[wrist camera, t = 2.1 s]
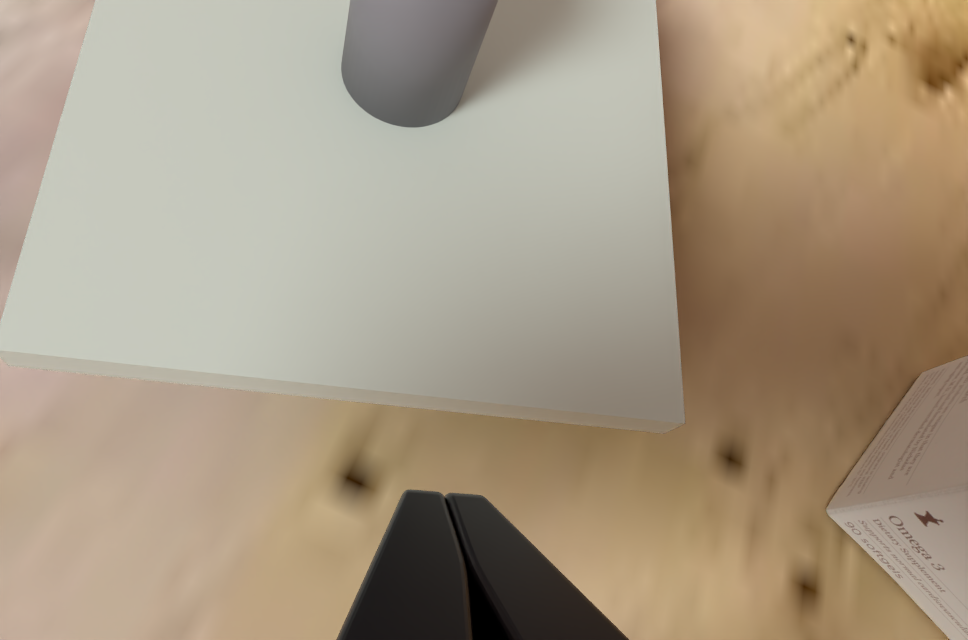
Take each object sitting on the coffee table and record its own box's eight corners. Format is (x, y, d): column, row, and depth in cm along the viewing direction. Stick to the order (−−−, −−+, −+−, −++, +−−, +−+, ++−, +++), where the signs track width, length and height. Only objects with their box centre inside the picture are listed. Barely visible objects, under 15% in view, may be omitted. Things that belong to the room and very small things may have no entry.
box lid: (664, 433, 18) (835, 353, 13) (9, 365, 15) (-137, 218, 9) (637, -15, 23) (750, -206, 18) (151, -137, 20) (111, -415, 15)
